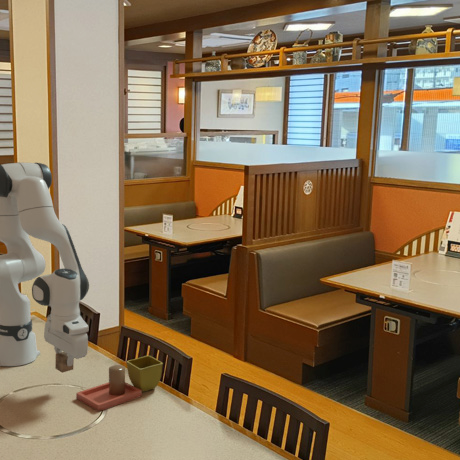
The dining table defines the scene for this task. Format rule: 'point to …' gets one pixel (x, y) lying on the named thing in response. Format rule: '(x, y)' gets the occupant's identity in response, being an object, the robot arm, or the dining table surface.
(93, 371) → the dining table surface
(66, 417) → the dining table surface
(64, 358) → the block
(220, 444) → the dining table surface
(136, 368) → the flower pot
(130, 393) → the tray
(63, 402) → the dining table surface
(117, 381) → the brown cylinder
